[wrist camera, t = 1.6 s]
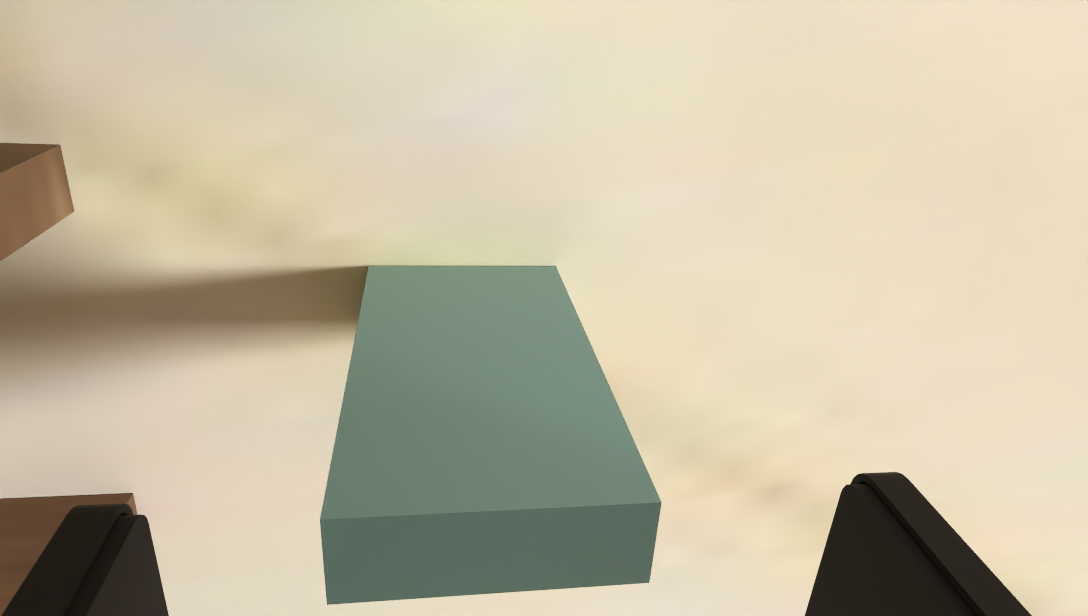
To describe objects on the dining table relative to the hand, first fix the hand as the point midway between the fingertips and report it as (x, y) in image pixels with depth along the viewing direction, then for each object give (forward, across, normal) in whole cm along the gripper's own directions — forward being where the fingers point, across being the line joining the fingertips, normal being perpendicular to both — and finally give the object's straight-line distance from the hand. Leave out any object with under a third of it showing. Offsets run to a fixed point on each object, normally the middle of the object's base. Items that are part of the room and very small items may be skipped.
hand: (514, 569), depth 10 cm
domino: (+11, 0, +1) cm, 11 cm away
